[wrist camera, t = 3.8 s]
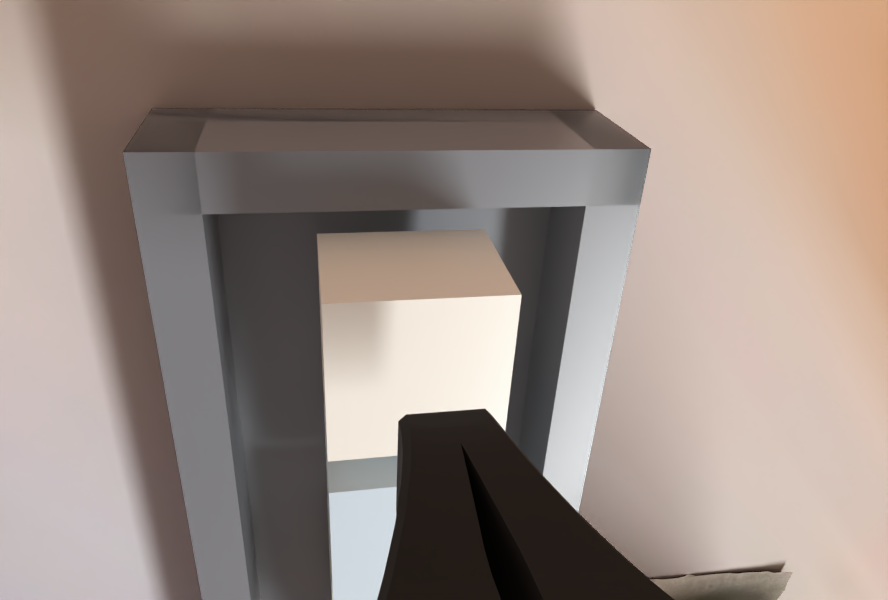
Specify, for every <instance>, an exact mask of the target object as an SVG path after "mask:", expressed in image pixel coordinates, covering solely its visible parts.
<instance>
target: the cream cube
mask: <svg viewBox="0 0 888 600" xmlns="http://www.w3.org/2000/svg"><path fill="white" fill-rule="evenodd" d="M317 249H318V274H319V299H320V323H321V348H322V373H323V390H324V407H325V424H326V441H327V458H328V462H329V461H341V460H353V459H364V458H376V457H388V456H397V450H398V421H399V420H400V419H401V418H403V417H404V416H405V415H406V414H419V413H433V412H446V411H459V410H473V409H486V410H487V411H488V412H489V413H490V414H491V415H492V416H493V417H494V418H495V419H496V421H497V422H498V423H499V424H500V426H501V427H502V428H503V429H504V430H505V429H506V421H507V413H508V405H509V396H510V388H511V380H512V371H513V363H514V355H515V346H516V338H517V330H518V322H519V313H520V305H521V297H522V294H521V293H520V291H519V289H518V287H517V286H516V284H515V282H514V280H513V279H512V277H511V275H510V273H509V272H508V270H507V268H506V266H505V265H504V263H503V261H502V259H501V258H500V256H499V254H498V252H497V250H496V249H495V247H494V245H493V243H492V242H491V240H490V238H489V236H488V235H487V233H486V231H485V229H468V230H432V231H395V232H359V233H322V234H317Z"/></svg>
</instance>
